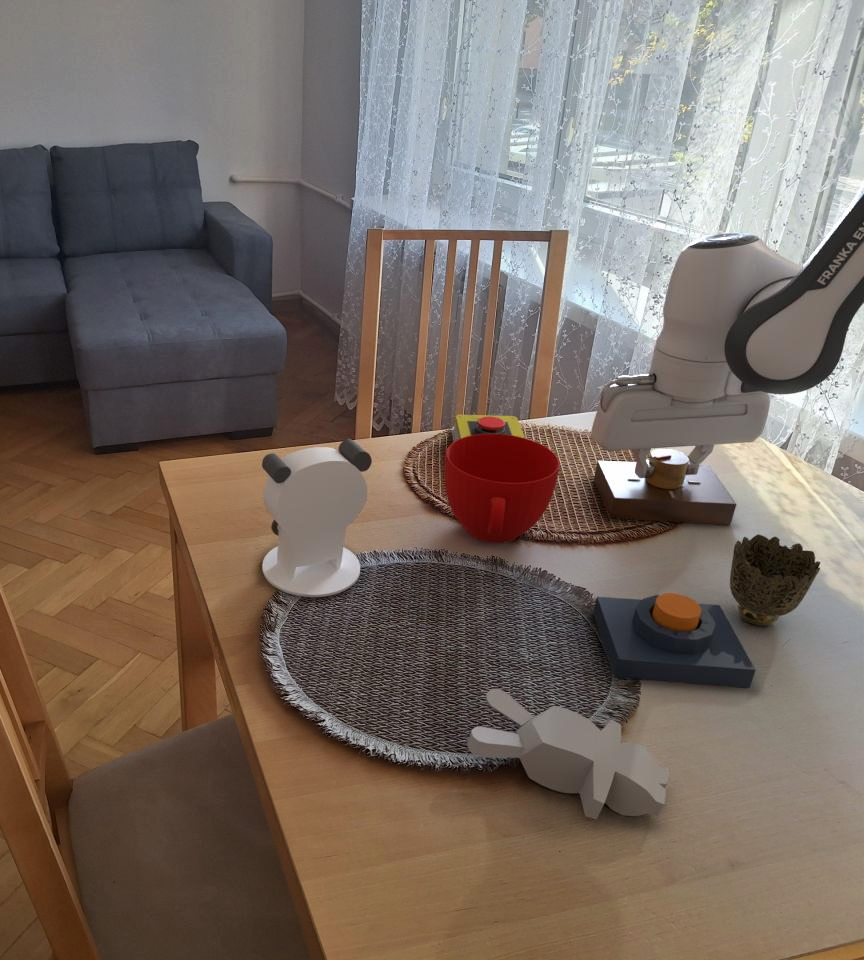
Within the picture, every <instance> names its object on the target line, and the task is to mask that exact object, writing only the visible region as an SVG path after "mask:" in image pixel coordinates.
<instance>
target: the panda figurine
mask: <svg viewBox="0 0 864 960" xmlns="http://www.w3.org/2000/svg"><path fill="white" fill-rule="evenodd" d="M372 461H373V460H372V456H371V454H370V453H369V452H367V451H366V450H365V449H364V448H363V446H361V445H359V443H357V442H356V441H355V440H353V439H351V438H345V439H343V440H342V441H341V442H340V444H339V445H338V449H335V448H333V447H327V446H315V447H313V446H312V447H308V448H303V449H299V450H296V451H293V452H291V453H288V454H286V455H284V456H283V457H280V456H279V455H278V454H276V453H268V454H266V455H265V456H263V458H262V461H261V468H262V469H263V470H264V471H265V472H266V474H267V475H268V476H267V477H266V480H265V483H264V488H263V502H264V506H265V509H266V510H267V512H268V514H269V515H270V516H271V517H272V519H273V521H272V522H271V528H270V529H271V531H272V533H273V534H274V535H275V536H277V545H276V546H275V547H273V548H272V549H271V550H270V551H269V552H267V553H266V555H265V556H264V558H263V560H262V565H261V567H262V568H261V569H262V574H263V576H264V578H265V580H266V581H267V582H268V583H269V584H270V585H272V587H274V588H275V589H276V590H277V589H278V590H279V591H281V592H283V593H285V594H288V595H293V596H297V597H303V598H325V597H330V596H333V595H337V594H340V593H343V592H344V591H346V590H348V589H350V588H351V587H352V586H353V585H355V584H356V583H357V582H358V579H359V578H360V575H361V564H360V561H359V559H358V557H357V556H356V555H355V554H354V552H352V551H351V550H349V548H347V547H345V546H344V545H345V540H346V539H345V538H346V532H347V528H348V527H349V526H350V525H351V524H352V523H353V522H354V521H355V520H356V519H357V518H358V516H359V515H360V514H361V512H362V511H363V509H364V507H365V505H366V502H367V499H368V485H367V481H366V480H365V477H364V475H363V473H364V472H366V471H368V470H369V469H370V467H371V466H372Z"/></svg>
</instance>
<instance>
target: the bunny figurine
mask: <svg viewBox="0 0 864 960" xmlns="http://www.w3.org/2000/svg"><path fill="white" fill-rule="evenodd" d="M485 703H486V704H487V705H488V706H489V707H490V708H491V709H492V710H494V711H496V712H497V713H499V714H500V715H502V716H503V717H505V718H507V719H508V720H510V721H511V722H513V723H514V724H516V725H517V726H519V727H518V729H516V731H515V732H510V731H506V730H501V729H495V728H492V727H486V726H475V727H474V728H472V730H471V732H470V734H469V737H468V739H467V743H466V744H467V749H468V751H469V752H470V753H471V754H472V755H473V756H476V757H480V758H486V759H487V758H493V759H494V758H496V759H497V758H498V759H499V758H504V759H505V758H506V759H508V758H509V759H514V758H515V759H519V761H520V762H521V765H522V766H523V768H524V770H525V773H526V776H527V777H528V778H529V779H530V780H532V781H533V782H535V783H537V784H539V785H540V786H543V787H545V788H548V789H550V790H552V791H555V792H560V793H562V794H579V797H580V801H581V804H582V808H583V812H584V816H585V817H586V818H589V819H592V820H598V818H599V815H600V813H601V811H602V810H603V807H604V805H605V804H606V806H607V807H608V808H609V809H610V810H611V811H613V812H615V813H617V814H619V815H621V816H626V817H639V816H644V815H652V816H654V817H657V818H658V817H659V816H660V813H661V812H662V810H663V807H664V806H665V802H666V796H667V795H666V794H667V789H666V787H667V784H668V780H669V773H670V770H669V769H668V768H666V767H663V766H662V765H661V764H660V762H659V761H658V759H657V758H656V756H655V755H654V754H653V753H652V752H651V751H650V750H649V749H648V748H647V747H646V746H644V745H641V744H639V743H636V742H622V724H621V723H619V722H617V721H616V720H614V719H610V720H609V721H608V723H607V724H606V725H605V726H604V727H603V728H602V729H600V728H599V727H598V726H597V725H596V724H595V723H594V722H592V721H591V720H590V719H588V718H587V717H586V716H584V715H582V714H580V713H577V712H575V711H573V710H570V709H568V708H566V707H561V706H557V705H553V706H551V707H549V708H548V709H546V710H544V711H542V712H541V713H538V714H536V715H535V716H534V715H533V714H532V713H530V712H529V711H528V710H527V709H526V708H525V707H524V706H522V705H521V704H520V703H519V702H518V701H516V700H515V699H514V698H513V697H512V696H511V695H509V694H508V693H507V692H505V690H503V689H502V688H491V689H490V690H488V691H487V693H486V697H485Z"/></svg>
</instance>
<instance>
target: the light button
mask: <svg viewBox="0 0 864 960" xmlns="http://www.w3.org/2000/svg"><path fill="white" fill-rule="evenodd" d="M659 595H660V596H658V597H657V599H656V602H655V605H654V609H653V613H652V616H653V619H654V620H655V621H656V622H657V623H659V624H660V625H661V626H664V627H667V628H669V629H672V630H675V631H686V632H690V631H693V630H694V629H695V628H696V627H697V625H698V622H699V618H700V615H701V607H700V606H699V604H700V603H698V602H697V601H695V599H692V598H691V597H688V596H687V595H683V594H679V593H674V592H668V593H662V594H659Z"/></svg>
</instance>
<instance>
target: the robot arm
mask: <svg viewBox="0 0 864 960" xmlns="http://www.w3.org/2000/svg"><path fill="white" fill-rule="evenodd" d="M863 305H864V181H863V182H862V184H861V186H860V187H859V189H858V191H857V193H856V194H855V196H854V198H853V200H852V201H851V203H850V205H848V207H847V208H846V211H845V212H844V213H843V214H842V215H841V217H840V218H839V219H838V221H837V222H836V224H835V225H834V226H833V227H832V228H831V230H830V231H829V233H828V234H827V235H826V236H825V238H823V241H821V243H820V244H819V245H818V247H817V248H816V249H815V250H814V252H813V253H812V254H811V255H810V257H809V258H808V259H807V261H806V262H805V263H804V264H803V265H801V264H798V263H796V262H794V261H791V260H789V259H788V258H786V257H784V256H783V255H781V254H779V253H777V251H775V250H773V249H772V248H771V247H769V246H768V245H767V244H766V243H765V242H764V241H763V239H762V238H761V237H759V236H758V235H754V234H752V233H744V232H724V233H716V234H710V235H706V236H702V237H700V238H697V239H696V240H694V241H692V242H691V243H689V244H687V246H685V247H684V248H683V249H682V250H681V251H680V253H679V255H678V257H677V259H676V261H675V264H674V267H673V269H672V272H671V275H670V279H669V281H668V285H667V288H666V293H665V298H664V301H663V305H662V320H663V322H662V326H661V330H660V332H659V333H658V335H657V337H656V339H655V342H654V347H653V352H652V355H651V360H650V365H649V369H648V374H638V375H631V376H629V375H619V376H616V377H615V379H613V380H611V381H609V382H608V383H607V384H605V385H604V386H603V388H602V389H601V392H600V393H601V394H600V398H599V405H598V408H597V411H596V413H595V416H594V420H593V423H592V426H591V431H590V435H591V438H592V439H593V441H594V442H595V443H596V444H597V445H598V446H599V447H600V448H601V449H602V450H604V451H606V452H616V451H617V452H618V451H631V453H632V456H633V457H634V460H635V461H636V466H635V474H636V475H637V476H638V477H639V478H651V477H652V476H653V473H652V472H653V471H654V468H655V466H654V465H653V464H651V463H650V462H649V459H647V458H646V456H650V454H651V450H652V449H668V448H682V447H694V448H693V449H692V450H691V452H690V453H689V454H688V455H687V456H688V458H689V463H688V467H687V471H686V475H696V474H697V472H698V469H699V465H701V464H702V463H703V462H704V461H705V460H706V459H707V458H708V457H709V456H710V455H711V453H712V452H713V450H714V447H715V445H716V446H717V445H731V444H732V445H733V444H744V443H745V444H747V443H749V444H750V443H754V442H755V441H756V440H758V439H759V438H760V437H761V436H762V435H763V432H764V430H765V428H766V423H767V420H768V416H769V412H770V405H771V397H770V394H771V395H793V394H798V393H802V392H804V391H808V390H810V389H812V388H814V387H817V386H818V385H820V384H821V383H822V382H824V381H825V380H826V379H828V378H829V376H831V374H832V373H833V372H834V371H835V369H836V368H837V366H838V365H839V362H840V360H841V357H842V356H843V355H842V354H843V351H844V347H845V342H846V339H847V333H848V331H849V327H850V325H851V323H852V321H853V320H854V318H855V316H856V315H857V313H858V312H859V310H860V308H861V307H862V306H863Z"/></svg>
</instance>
